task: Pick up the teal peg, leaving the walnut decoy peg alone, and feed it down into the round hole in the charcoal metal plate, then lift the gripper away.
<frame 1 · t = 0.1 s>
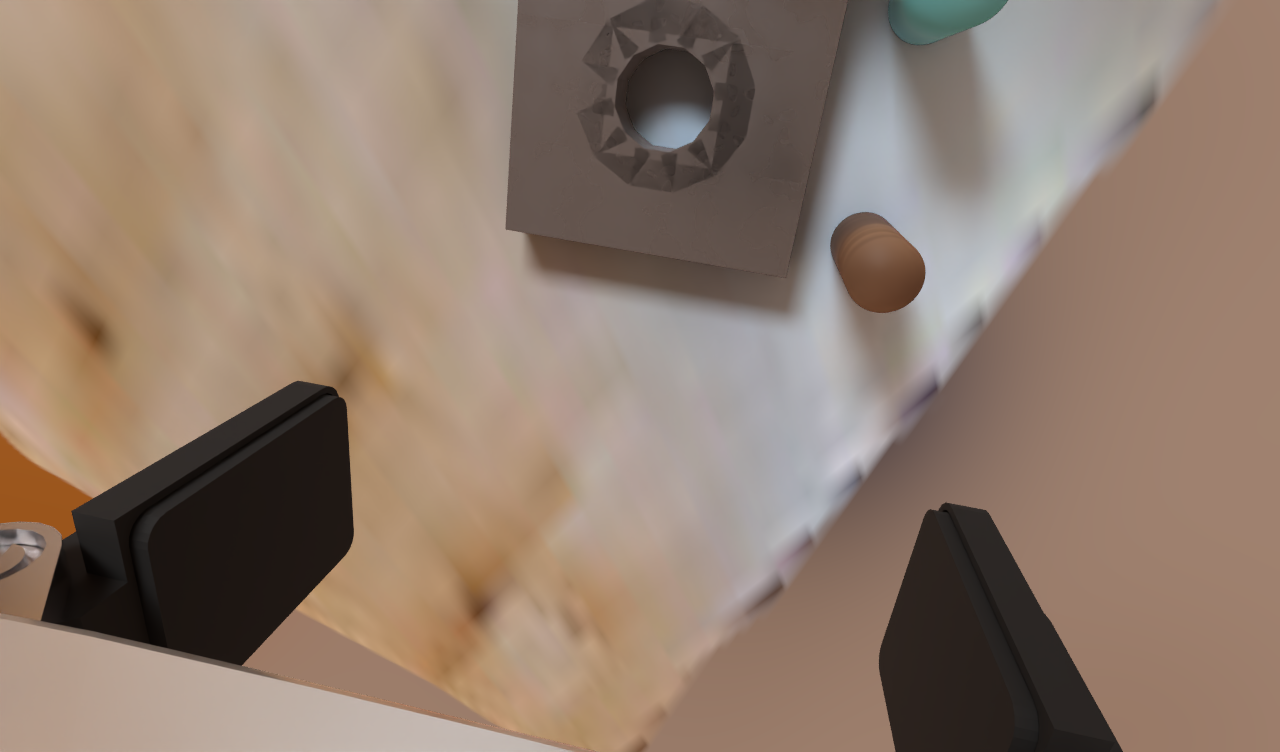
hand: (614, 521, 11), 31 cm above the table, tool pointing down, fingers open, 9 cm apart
socket plate: (671, 100, 37), on the table
teal peg: (925, 6, 34), on the table
walnut peg: (862, 243, 38), on the table
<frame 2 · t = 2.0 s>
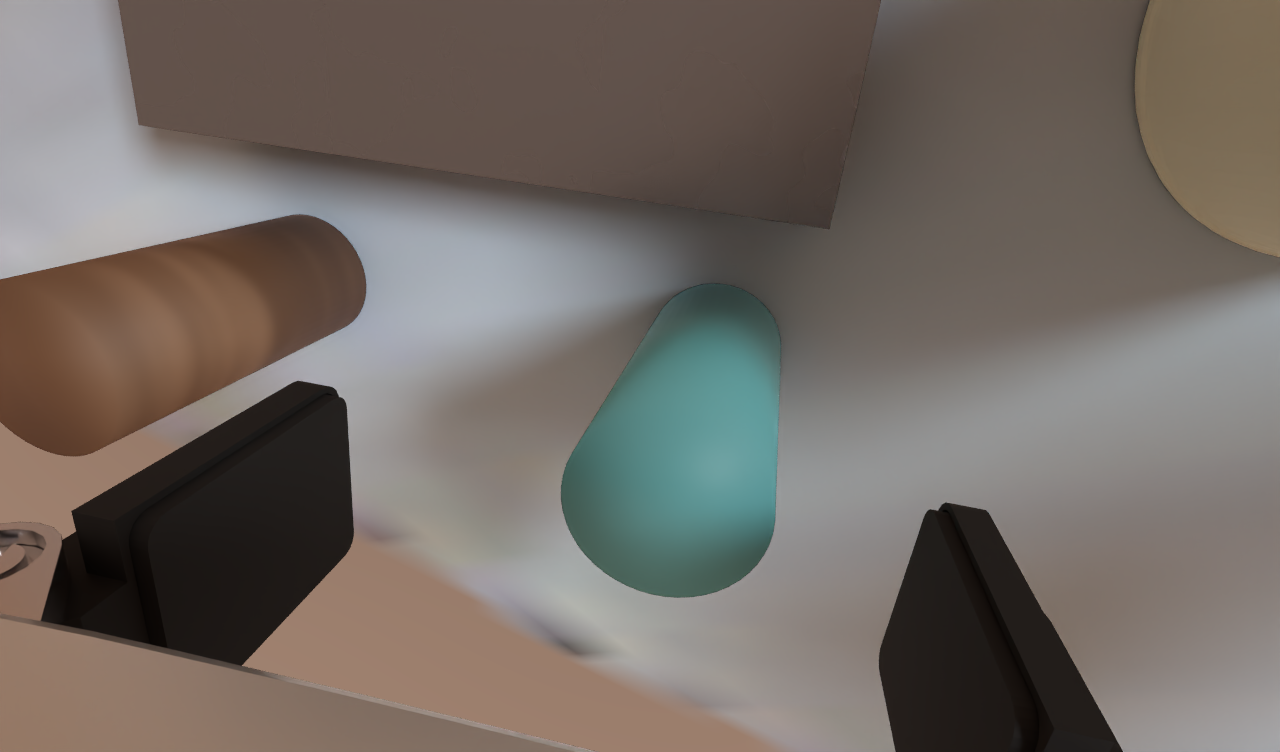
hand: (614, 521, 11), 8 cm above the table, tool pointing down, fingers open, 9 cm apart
teal peg: (714, 347, 18), on the table
walnut peg: (311, 274, 20), on the table
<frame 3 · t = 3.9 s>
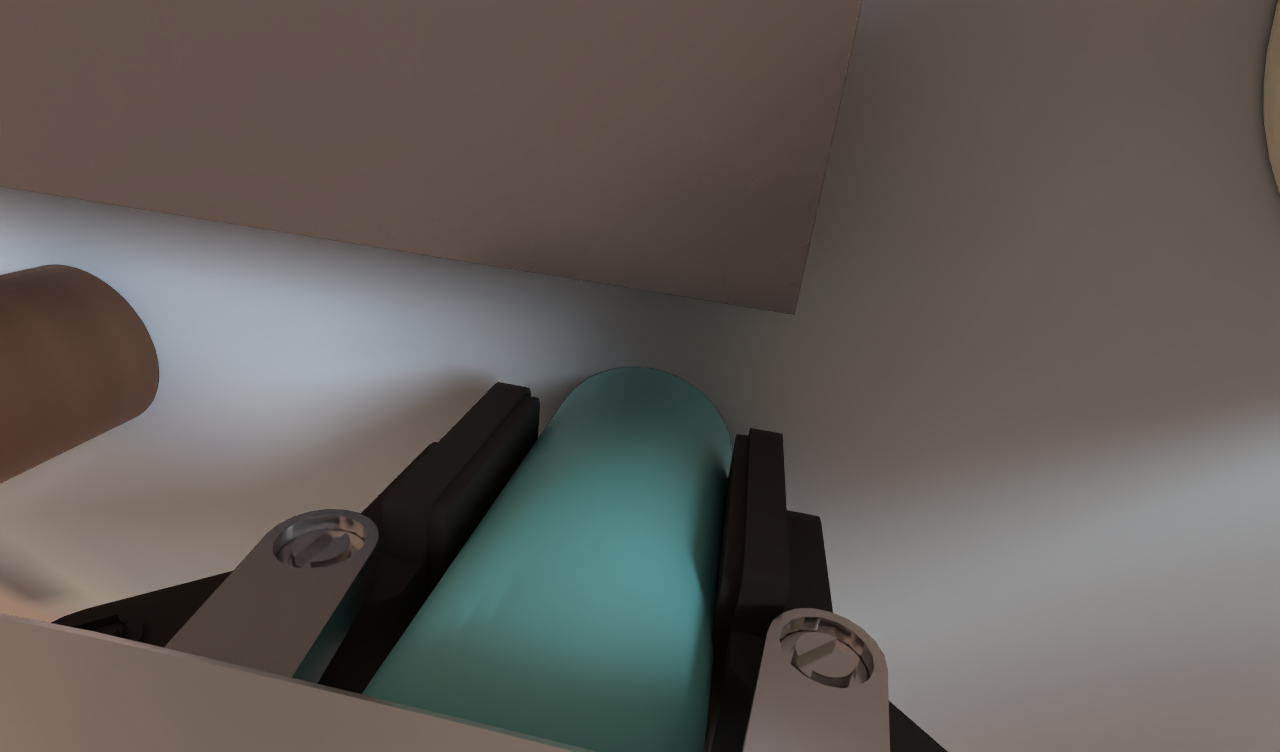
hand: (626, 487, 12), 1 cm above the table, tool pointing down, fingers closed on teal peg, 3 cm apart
teal peg: (639, 452, 13), on the table, touching gripper
walnut peg: (83, 346, 14), on the table
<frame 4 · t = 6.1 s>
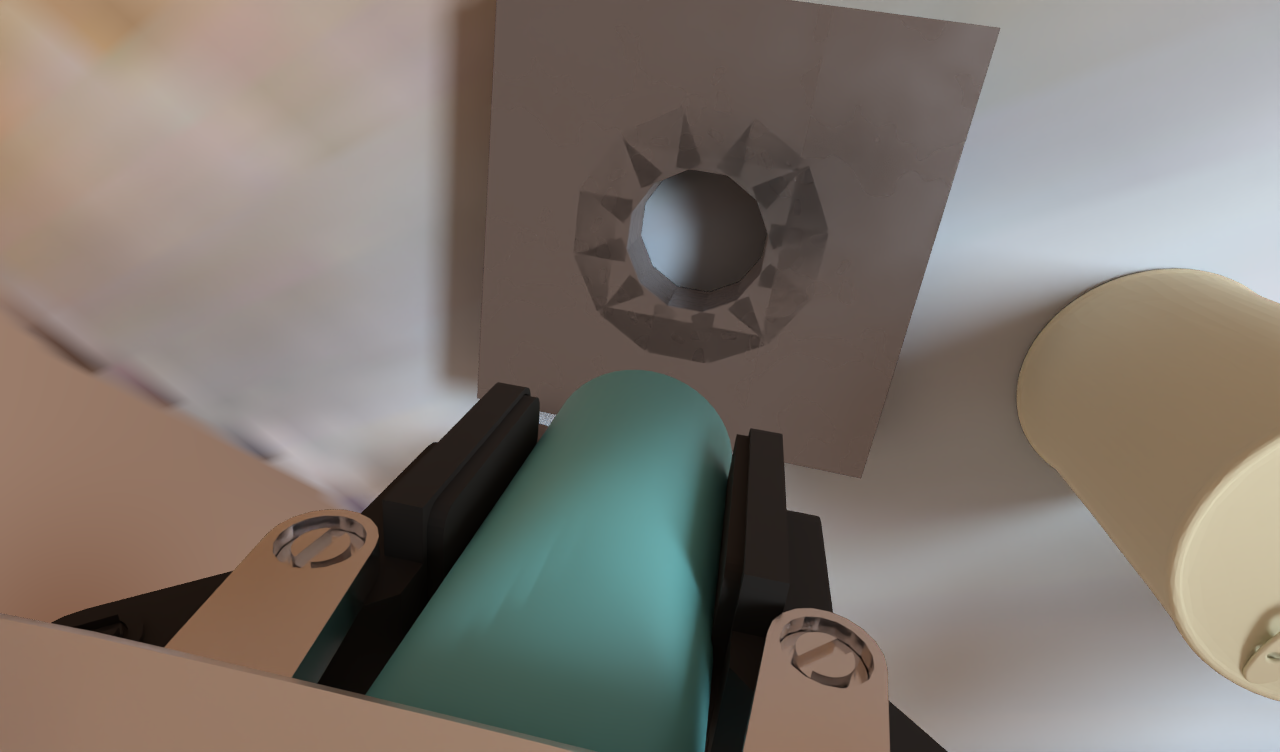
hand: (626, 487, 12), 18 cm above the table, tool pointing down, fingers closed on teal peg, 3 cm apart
socket plate: (703, 229, 27), on the table
can: (1141, 382, 27), on the table
teal peg: (639, 455, 13), point 16 cm above the table, touching gripper
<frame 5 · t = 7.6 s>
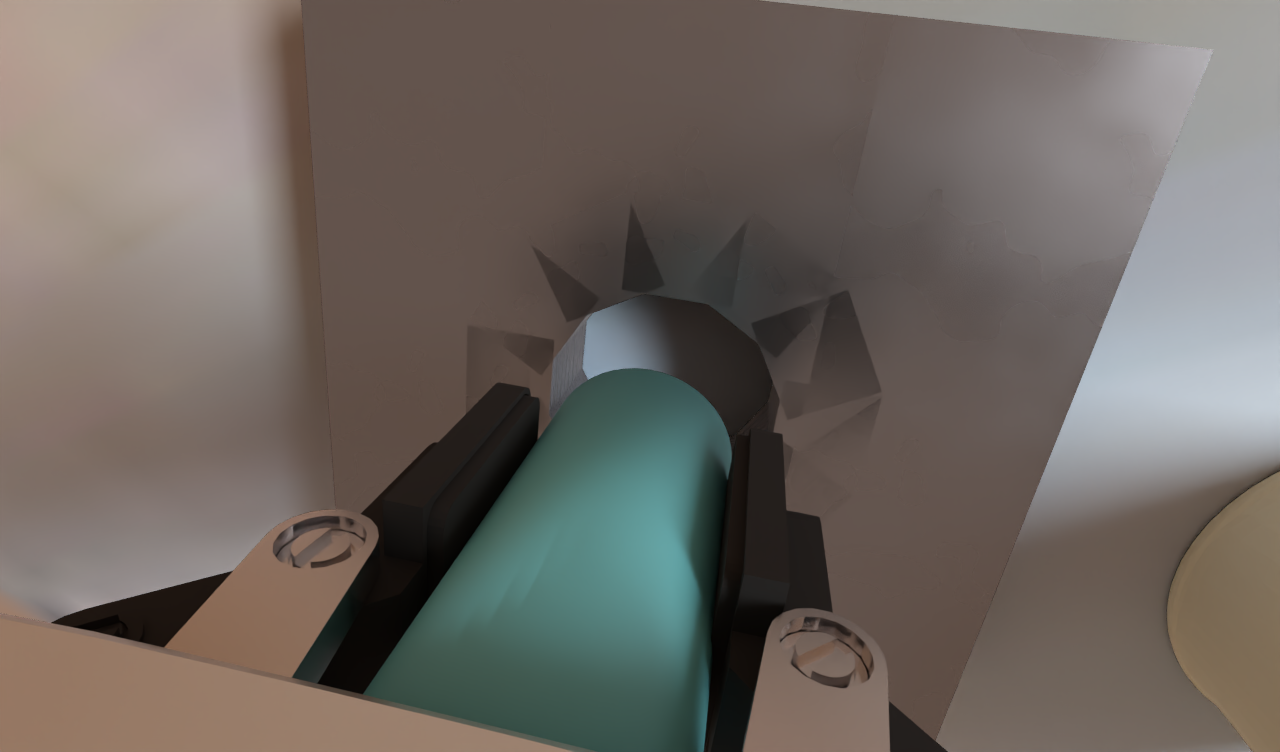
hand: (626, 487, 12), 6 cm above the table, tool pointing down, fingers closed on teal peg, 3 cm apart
socket plate: (677, 361, 18), on the table
teal peg: (639, 454, 13), point 5 cm above the table, touching gripper
when the fingers open (4 cm above the table, at t = 8.8 s): teal peg drops 2 cm, resting in socket plate.
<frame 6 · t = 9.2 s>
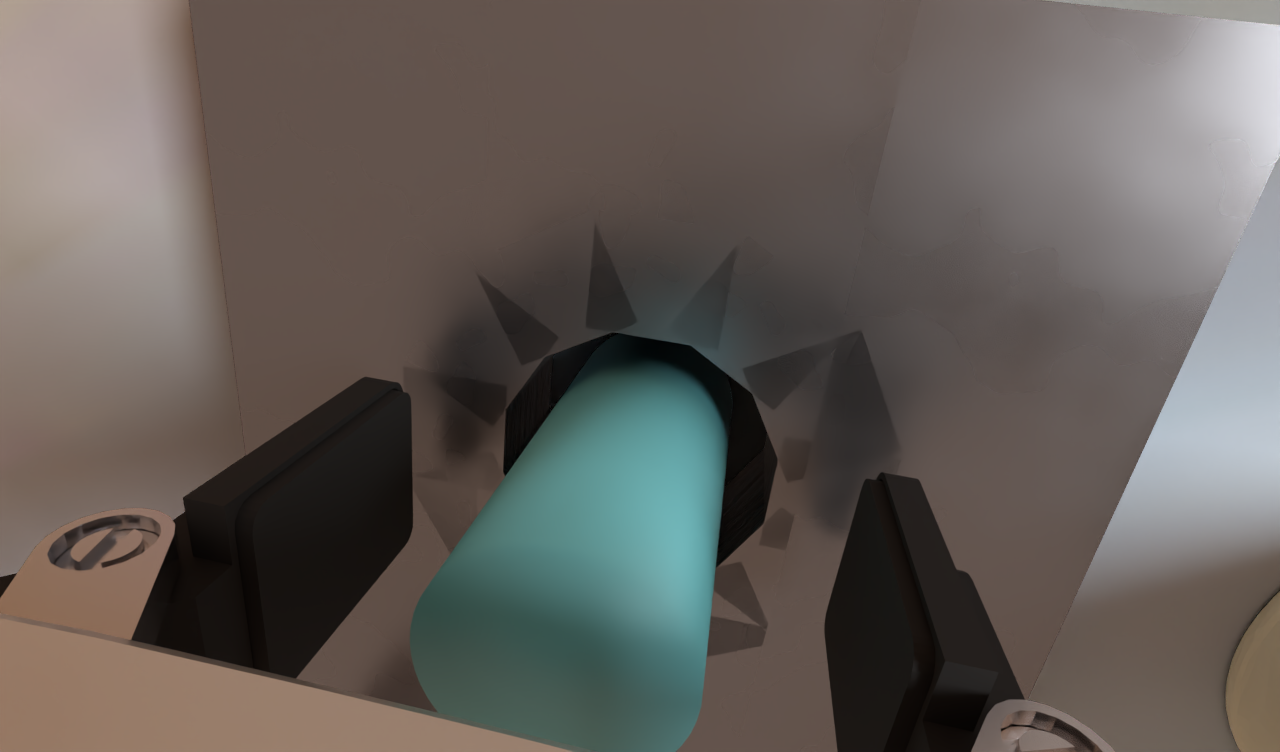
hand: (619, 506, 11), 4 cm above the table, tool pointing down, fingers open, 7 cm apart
socket plate: (658, 401, 15), on the table
teal peg: (653, 401, 15), resting in socket plate
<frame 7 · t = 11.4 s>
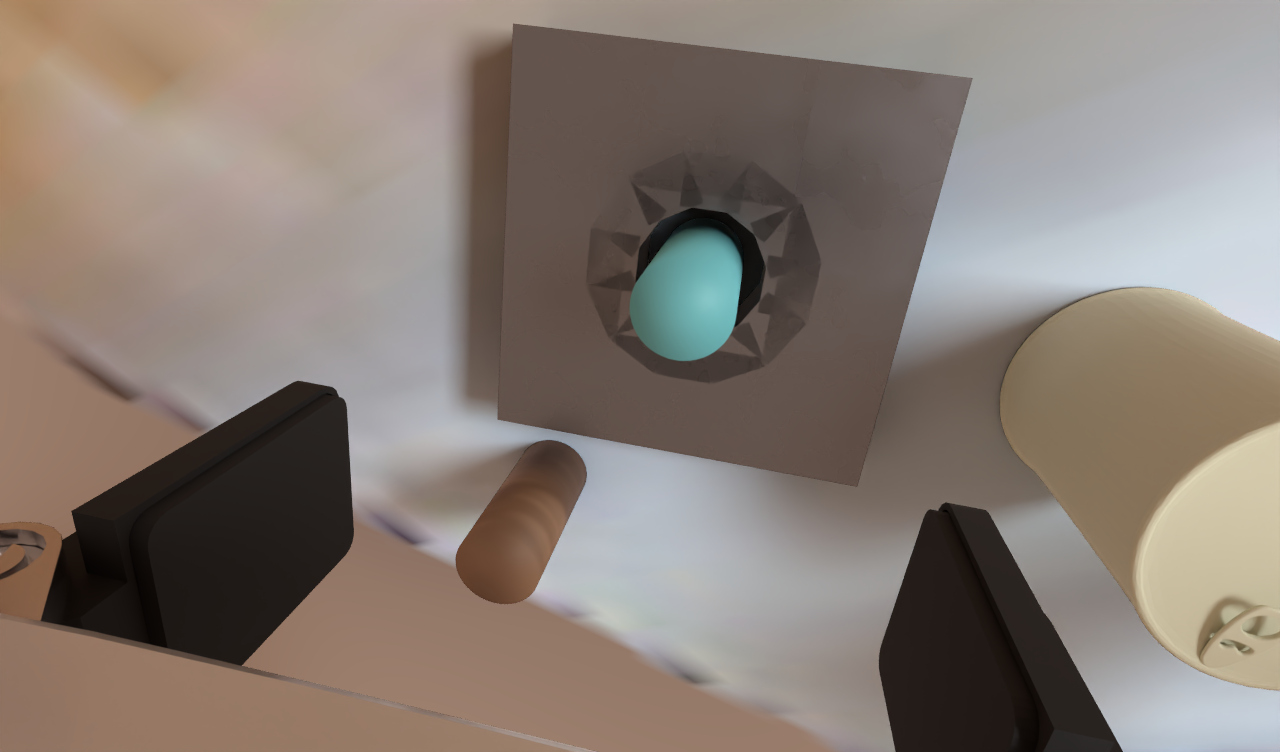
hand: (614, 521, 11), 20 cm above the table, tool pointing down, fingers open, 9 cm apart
socket plate: (705, 258, 29), on the table
can: (1114, 391, 29), on the table
teal peg: (703, 259, 29), resting in socket plate
walnut peg: (553, 470, 35), on the table
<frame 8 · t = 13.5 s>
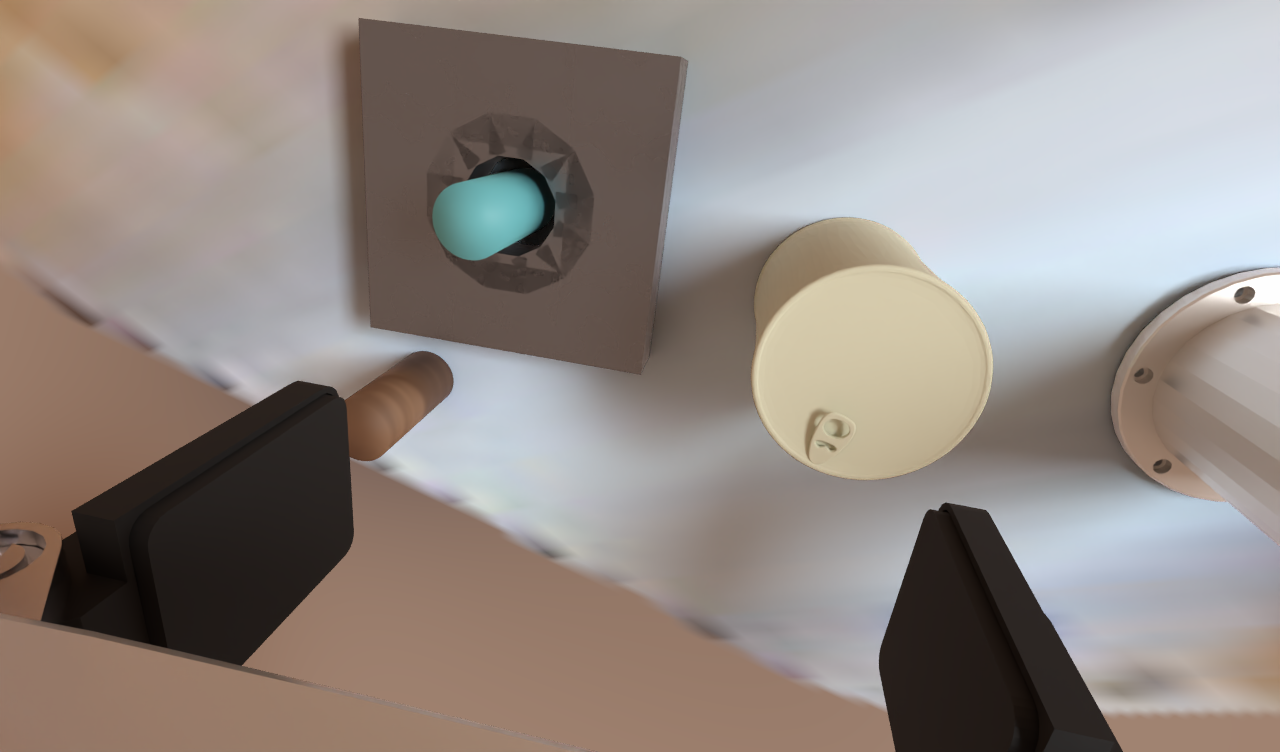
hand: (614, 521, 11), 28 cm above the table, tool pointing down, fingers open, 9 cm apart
socket plate: (527, 200, 38), on the table
can: (838, 301, 37), on the table
teal peg: (525, 200, 38), resting in socket plate
walnut peg: (427, 376, 43), on the table
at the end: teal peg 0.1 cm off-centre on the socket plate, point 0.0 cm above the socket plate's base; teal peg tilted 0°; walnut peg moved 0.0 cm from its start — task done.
